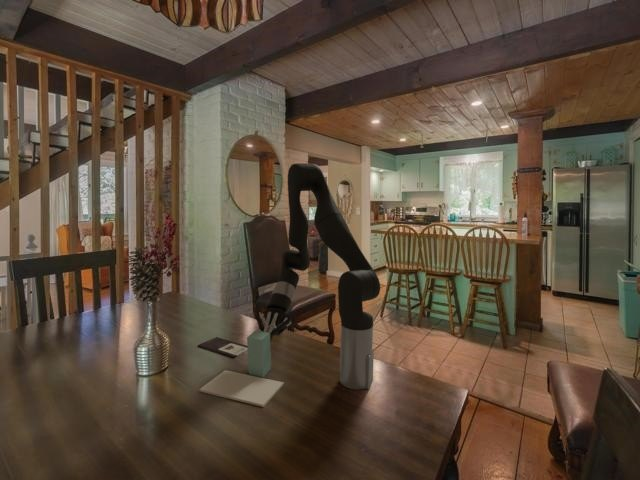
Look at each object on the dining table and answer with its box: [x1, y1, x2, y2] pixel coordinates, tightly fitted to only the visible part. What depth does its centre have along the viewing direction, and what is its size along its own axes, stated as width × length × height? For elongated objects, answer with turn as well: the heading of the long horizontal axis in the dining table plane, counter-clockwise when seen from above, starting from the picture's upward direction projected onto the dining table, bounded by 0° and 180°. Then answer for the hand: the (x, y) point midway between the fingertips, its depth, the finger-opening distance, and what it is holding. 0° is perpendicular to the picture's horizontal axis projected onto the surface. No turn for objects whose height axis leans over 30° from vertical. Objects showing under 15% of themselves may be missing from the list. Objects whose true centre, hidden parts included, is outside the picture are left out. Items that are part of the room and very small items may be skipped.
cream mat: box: [198, 369, 285, 408], centre depth 92 cm, size 20×12×1 cm, turn 70°
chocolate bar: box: [197, 336, 248, 359], centre depth 119 cm, size 9×1×18 cm
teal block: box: [246, 330, 272, 378], centre depth 101 cm, size 5×5×12 cm
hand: (264, 345), depth 103 cm, fingers closed
